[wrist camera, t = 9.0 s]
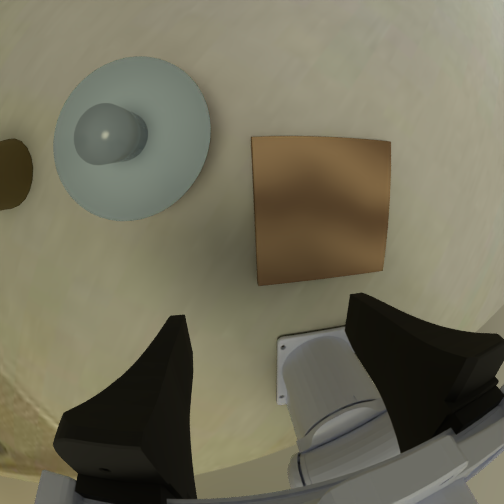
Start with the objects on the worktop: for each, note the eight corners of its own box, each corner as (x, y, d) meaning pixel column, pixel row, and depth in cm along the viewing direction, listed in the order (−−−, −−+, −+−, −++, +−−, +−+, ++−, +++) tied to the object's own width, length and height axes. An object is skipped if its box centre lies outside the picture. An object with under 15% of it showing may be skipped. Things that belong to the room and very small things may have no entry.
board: (379, 268, 24) (382, 270, 23) (257, 282, 22) (258, 286, 22) (386, 141, 20) (390, 141, 19) (250, 137, 19) (252, 136, 18)
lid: (224, 198, 16) (227, 215, 12) (79, 232, 16) (45, 257, 12) (197, 45, 13) (193, 12, 9) (53, 92, 12) (14, 81, 8)
